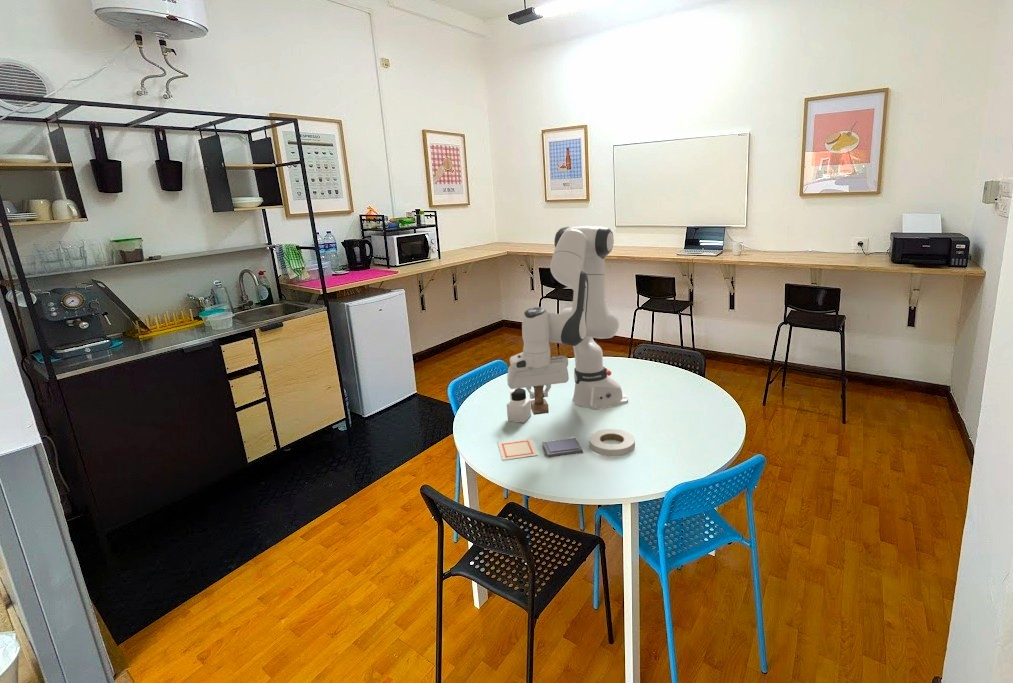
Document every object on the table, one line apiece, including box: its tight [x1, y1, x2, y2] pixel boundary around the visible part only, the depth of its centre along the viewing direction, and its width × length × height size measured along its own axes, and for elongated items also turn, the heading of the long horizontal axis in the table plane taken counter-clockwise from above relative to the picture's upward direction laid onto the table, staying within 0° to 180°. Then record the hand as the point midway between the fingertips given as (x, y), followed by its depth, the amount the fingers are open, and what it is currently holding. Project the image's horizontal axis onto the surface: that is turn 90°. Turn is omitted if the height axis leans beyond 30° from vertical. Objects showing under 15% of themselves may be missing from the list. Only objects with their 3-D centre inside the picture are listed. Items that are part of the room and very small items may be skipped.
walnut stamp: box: [530, 385, 550, 416], centre depth 170 cm, size 5×5×11 cm
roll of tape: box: [588, 428, 636, 458], centre depth 176 cm, size 16×15×3 cm
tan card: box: [497, 438, 539, 461], centre depth 178 cm, size 12×12×1 cm
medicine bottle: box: [506, 388, 532, 424], centre depth 199 cm, size 7×7×12 cm
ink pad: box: [541, 437, 584, 459], centre depth 176 cm, size 12×9×2 cm
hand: (538, 397), depth 171 cm, fingers closed on walnut stamp, 3 cm apart
